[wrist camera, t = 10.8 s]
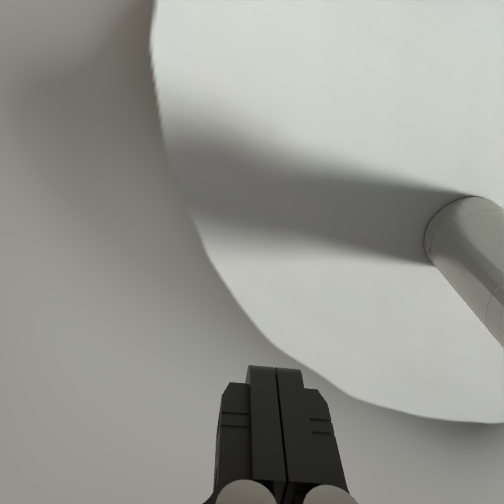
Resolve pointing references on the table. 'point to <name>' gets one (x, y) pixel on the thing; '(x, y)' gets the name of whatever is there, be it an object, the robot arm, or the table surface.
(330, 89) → the table surface
